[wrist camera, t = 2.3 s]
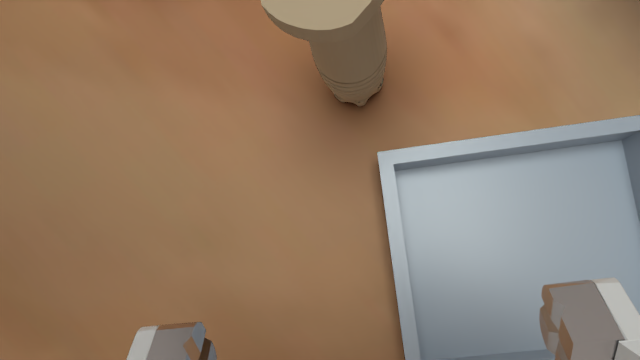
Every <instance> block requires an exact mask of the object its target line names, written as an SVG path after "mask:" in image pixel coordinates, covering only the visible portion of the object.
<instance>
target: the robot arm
mask: <svg viewBox="0 0 640 360" xmlns="http://www.w3.org/2000/svg"><path fill="white" fill-rule="evenodd" d="M541 297H542V299H543V302H544V305H543V306H542V307H541V308H540V313H539V321H540V329H541V333H542V337H543V340H544V343H545V345H546V348H547V350H549V351H550V352H551V353H553V354H554V355H555V360H640V315H639V313H638V312H637V310H636V308H635V307H634V305H633V303H632V302H631V300H630V298H629V297H628V295H627V294H626V292H625V290H624V289H623V287H622V285H621V284H620V282H619V281H618V280H617V279H616V278H614V277H613V278H603V279H594V280H581V281H572V282H564V283H556V284H547V285H544V286H543V288H542V293H541ZM205 333H206V329H205V328H204V326H203V324H202V322H194V323H181V324H168V325H157V326H146V327H141V328H140V329H139V330H138V331H137V333H136V335H135V338H134V340H133V343H132V346H131V348H130V351H129V354H128V356H127V359H126V360H217V356H216V352H215V348H214V346H213V343H212V342H211V341H210V340H208V339H206V338H205Z"/></svg>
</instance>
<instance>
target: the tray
mask: <svg viewBox="0 0 640 360" xmlns="http://www.w3.org/2000/svg"><path fill="white" fill-rule="evenodd" d="M377 154H378V162H379V169H380V177H381V184H382V191H383V199H384V206H385V213H386V221H387V228H388V236H389V243H390V250H391V258H392V265H393V273H394V280H395V287H396V295H397V302H398V309H399V317H400V324H401V332H402V339H403V346H404V354H405V360H555V355H554V354H553V353H551V352H550V351H549V350H547V348H546V345H545V343H544V340H543V337H542V333H541V329H540V321H539V313H540V308H541V307H542V306H543V305H544V302H543V299H542V297H541V293H542V288H543V286H544V285H547V284H556V283H564V282H572V281H581V280H594V279H603V278H613V277H614V278H616V279H617V280H618V281H619V282H620V284H621V285H622V287H623V289H624V290H625V292H626V294H627V295H628V297H629V298H630V300H631V302H632V303H633V305H634V307H635V308H636V310H637V312H638V313H639V315H640V115H637V116H630V117H623V118H616V119H609V120H602V121H595V122H588V123H580V124H573V125H566V126H559V127H552V128H545V129H538V130H531V131H524V132H517V133H509V134H502V135H495V136H488V137H481V138H474V139H467V140H460V141H453V142H446V143H439V144H431V145H424V146H417V147H410V148H403V149H396V150H389V151H382V152H377Z"/></svg>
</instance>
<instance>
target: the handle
mask: <svg viewBox="0 0 640 360" xmlns="http://www.w3.org/2000/svg"><path fill="white" fill-rule="evenodd" d="M383 1H384V0H261V4H262V6H263V8H264V10H265V12H266V14H267V15H268V17H269V18H270V19H271V20H272V21H273V22H274V24H275V25H276V26H278V27H279V28H280V29H281V30H283V31H284V32H286V33H288V34H290V35H292V36H294V37H296V38H300V39H303V40H307V41H309V43H310V47H311V51H312V55H313V58H314V61H315V64H316V66H317V69H318V71H319V73H320V75H321V77H322V79H323V80H324V82H325V83H326V85H327V86H328V87H329V88H330V90H331V91H332V92H333V93H334V96H335V97H336V98H337V99H338V100H339V101H341V102H342V103H343V102H352V103H355V104H356V105H357V106H363V105H365V104H366V102H367V100H368V99H369V98H370V96H372V95H373V94H374V93H376V92H379V91H380V89H381V87H382V84H383V76H384V72H385V66H386V53H387V44H386V35H385V30H384V24H383V19H382V13H381V7H380V5H381V4H382V2H383Z"/></svg>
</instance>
